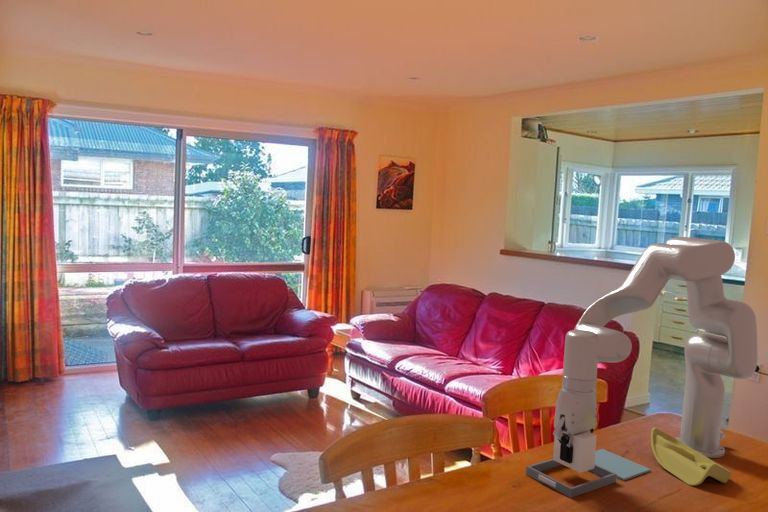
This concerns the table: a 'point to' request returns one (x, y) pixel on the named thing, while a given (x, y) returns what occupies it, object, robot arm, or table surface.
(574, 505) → the table surface
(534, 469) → the grey rectangular frame
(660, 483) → the table surface
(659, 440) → the plastic component
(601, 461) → the mat
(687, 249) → the robot arm
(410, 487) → the table surface
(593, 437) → the block
